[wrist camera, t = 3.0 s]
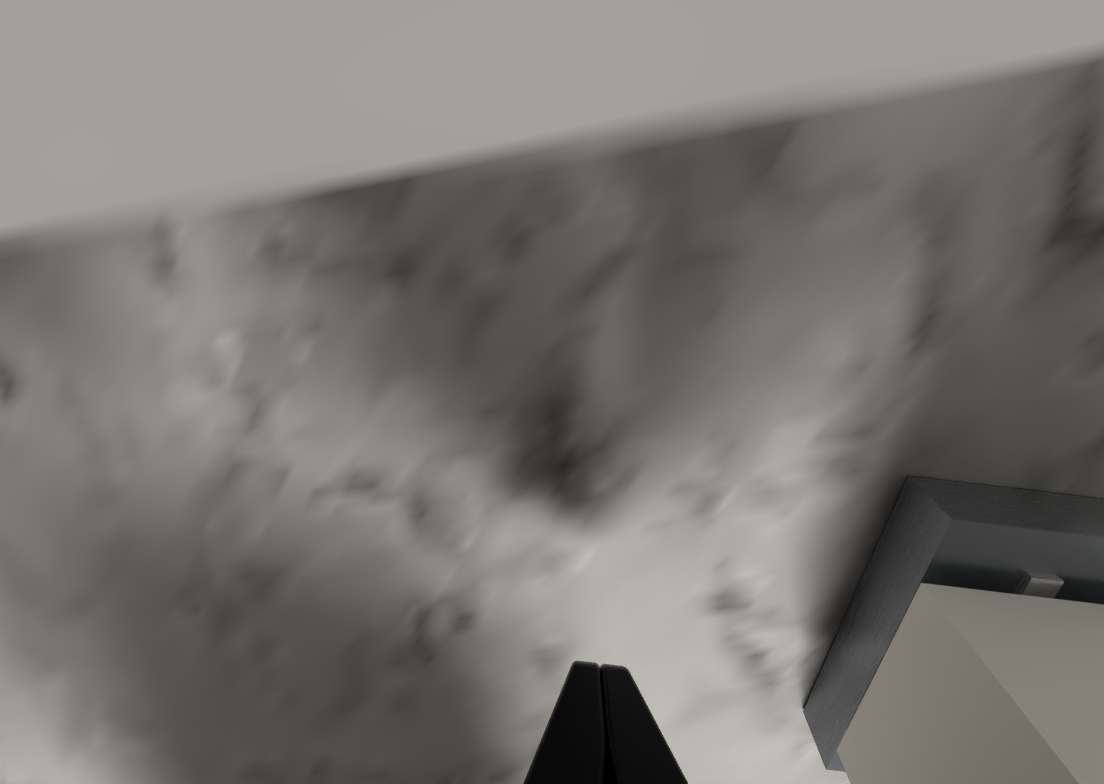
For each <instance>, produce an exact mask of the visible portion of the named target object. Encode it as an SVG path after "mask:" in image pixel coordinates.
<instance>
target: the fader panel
mask: <svg viewBox="0 0 1104 784" xmlns="http://www.w3.org/2000/svg"><path fill="white" fill-rule="evenodd" d="M921 583H926V584H934V585H943V586H951V587H959V588H968V589H976V590H985V591H993V592H1002V593H1010V594H1019V595H1027V596H1035V597H1044V598H1052V599H1061V600H1069V601H1078V602H1086V603H1095V604H1103V605H1104V499H1100V498H1092V497H1083V496H1075V495H1066V494H1058V493H1050V492H1041V491H1033V490H1024V489H1016V488H1007V487H999V486H991V485H982V484H974V483H965V482H957V481H949V480H940V479H932V478H923V477H915V476H908V477H907V479H906V481H905V483H904V486H903V488H902V490H901V492H900V495H899V497H898V499H897V501H896V504H895V506H894V508H893V510H892V513H891V515H890V517H889V519H888V521H887V524H886V526H885V528H884V530H883V533H882V535H881V537H880V539H879V542H878V544H877V546H876V548H875V551H874V553H873V555H872V557H871V560H870V562H869V564H868V566H867V569H866V571H865V573H864V575H863V578H862V580H861V582H860V584H859V587H858V589H857V591H856V593H855V596H854V598H853V600H852V602H851V605H850V607H849V609H848V611H847V614H846V616H845V618H844V620H843V623H842V625H841V627H840V629H839V632H838V634H837V636H836V638H835V641H834V643H833V645H832V647H831V650H830V652H829V654H828V656H827V659H826V661H825V663H824V665H823V668H822V670H821V672H820V674H819V677H818V679H817V681H816V683H815V686H814V688H813V690H812V692H811V694H810V697H809V699H808V701H807V703H806V706H805V708H804V710H803V713H804V715H805V718H806V720H807V723H808V725H809V728H810V730H811V733H812V735H813V738H814V740H815V743H816V745H817V748H818V750H819V753H820V755H821V758H822V760H823V763H824V766H825V768H826V769H827V770H836V771H844V772H845V769H844V767H843V765H842V762H841V760H840V758H839V755H838V753H837V749H838V747H839V745H840V743H841V741H842V739H843V737H844V735H845V733H846V731H847V729H848V727H849V725H850V723H851V721H852V719H853V717H854V715H855V713H856V711H857V709H858V707H859V705H860V703H861V701H862V699H863V697H864V695H865V693H866V691H867V689H868V687H869V685H870V683H871V681H872V679H873V677H874V675H875V673H876V671H877V669H878V667H879V665H880V663H881V661H882V659H883V657H884V655H885V653H886V651H887V650H888V648H889V646H890V644H891V642H892V640H893V638H894V636H895V634H896V632H897V630H898V628H899V626H900V624H901V622H902V620H903V618H904V616H905V614H906V612H907V610H908V608H909V606H910V604H911V602H912V600H913V598H914V596H915V594H916V592H917V590H918V588H919V586H920V584H921Z"/></svg>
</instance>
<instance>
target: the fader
mask: <svg viewBox="0 0 1104 784" xmlns="http://www.w3.org/2000/svg"><path fill="white" fill-rule="evenodd" d="M837 753H838V755H839V758H840V760H841V762H842V765H843V767H844V769H845V772H846V774H847V776H848V779H849V781H850V783H851V784H1104V605H1103V604H1095V603H1086V602H1078V601H1069V600H1061V599H1052V598H1044V597H1035V596H1027V595H1019V594H1010V593H1002V592H993V591H985V590H976V589H968V588H959V587H951V586H943V585H934V584H926V583H921V584H920V586H919V588H918V590H917V592H916V594H915V596H914V598H913V600H912V602H911V604H910V606H909V608H908V610H907V612H906V614H905V616H904V618H903V620H902V622H901V624H900V626H899V628H898V630H897V632H896V634H895V636H894V638H893V640H892V642H891V644H890V646H889V648H888V650H887V651H886V653H885V655H884V657H883V659H882V661H881V663H880V665H879V667H878V669H877V671H876V673H875V675H874V677H873V679H872V681H871V683H870V685H869V687H868V689H867V691H866V693H865V695H864V697H863V699H862V701H861V703H860V705H859V707H858V709H857V711H856V713H855V715H854V717H853V719H852V721H851V723H850V725H849V727H848V729H847V731H846V733H845V735H844V737H843V739H842V741H841V743H840V745H839V747H838V749H837Z"/></svg>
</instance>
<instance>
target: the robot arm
mask: <svg viewBox="0 0 1104 784" xmlns="http://www.w3.org/2000/svg"><path fill="white" fill-rule="evenodd" d="M523 784H688V782H687V780H686V779H685V777H684V775H683V773H682V771H681V769H680V767H679V765H678V763H677V761H676V759H675V758H674V756H673V754H672V752H671V750H670V748H669V746H668V744H667V742H666V740H665V739H664V737H663V735H662V733H661V731H660V729H659V727H658V725H657V723H656V721H655V719H654V718H653V716H652V714H651V712H650V710H649V708H648V706H647V704H646V702H645V700H644V698H643V697H642V695H641V693H640V691H639V689H638V687H637V685H636V683H635V681H634V679H633V678H632V676H631V674H630V672H629V670H628V669H627V668H626V667H624V666H617V665H609V664H603V665H601V666H600V667H599V665H598V664H596V663H592V662H584V661H575V662H573V664H572V666H571V668H570V670H569V673H568V675H567V678H566V680H565V683H564V685H563V687H562V690H561V692H560V695H559V697H558V700H557V702H556V705H555V707H554V710H553V712H552V714H551V717H550V719H549V722H548V724H547V727H546V729H545V732H544V734H543V737H542V739H541V741H540V744H539V746H538V749H537V751H536V754H535V756H534V759H533V761H532V764H531V766H530V768H529V771H528V773H527V776H526V778H525V781H524V783H523Z"/></svg>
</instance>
